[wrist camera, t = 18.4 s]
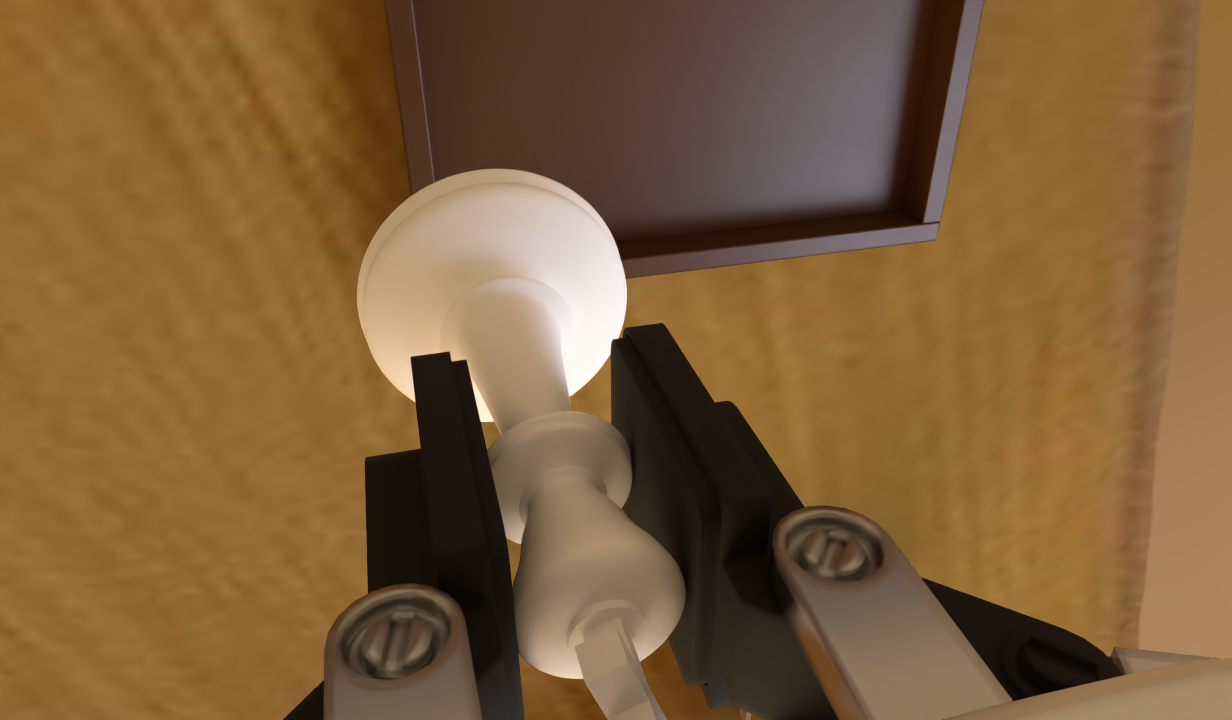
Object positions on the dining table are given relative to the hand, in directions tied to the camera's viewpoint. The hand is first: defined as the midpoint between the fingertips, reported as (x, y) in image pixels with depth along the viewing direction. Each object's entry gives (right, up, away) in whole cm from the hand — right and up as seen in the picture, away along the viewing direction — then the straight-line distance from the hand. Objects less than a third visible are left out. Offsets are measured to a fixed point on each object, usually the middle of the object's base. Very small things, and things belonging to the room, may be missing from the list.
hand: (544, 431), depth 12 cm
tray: (+3, +11, +17) cm, 21 cm away
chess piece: (-1, +2, +4) cm, 5 cm away
